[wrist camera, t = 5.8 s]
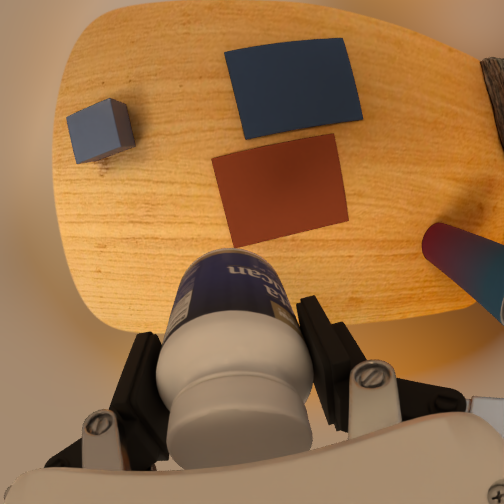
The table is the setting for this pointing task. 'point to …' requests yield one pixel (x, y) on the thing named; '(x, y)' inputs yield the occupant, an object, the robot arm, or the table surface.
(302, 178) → the rust mat
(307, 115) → the blue mat
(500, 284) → the cup
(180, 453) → the pill bottle
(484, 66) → the rock
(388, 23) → the table surface
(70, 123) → the blue block
